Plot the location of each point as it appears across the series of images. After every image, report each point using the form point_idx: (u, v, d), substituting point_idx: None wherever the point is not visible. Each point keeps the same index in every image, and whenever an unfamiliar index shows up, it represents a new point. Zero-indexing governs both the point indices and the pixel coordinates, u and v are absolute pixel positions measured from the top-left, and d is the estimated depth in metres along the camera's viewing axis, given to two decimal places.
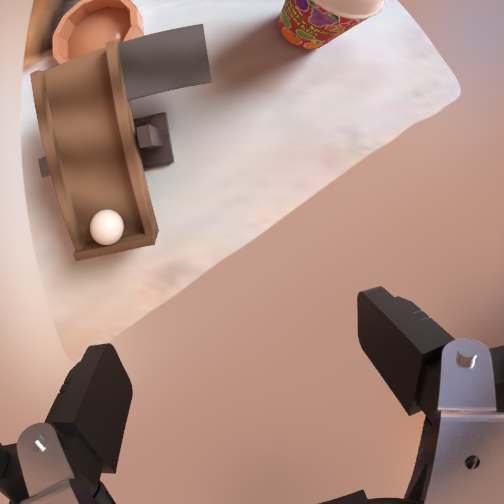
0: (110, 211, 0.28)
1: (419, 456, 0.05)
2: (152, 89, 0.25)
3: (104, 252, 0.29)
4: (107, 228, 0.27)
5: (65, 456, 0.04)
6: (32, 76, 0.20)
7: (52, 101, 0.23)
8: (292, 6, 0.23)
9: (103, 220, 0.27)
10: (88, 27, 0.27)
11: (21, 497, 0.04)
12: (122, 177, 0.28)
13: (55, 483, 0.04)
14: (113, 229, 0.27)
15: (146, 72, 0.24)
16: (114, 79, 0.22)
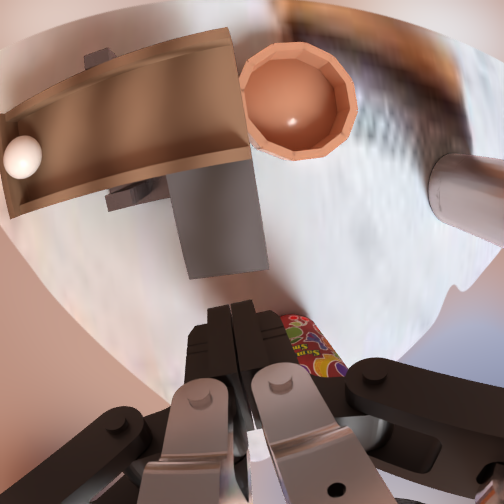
0: (36, 162, 0.19)
1: (281, 485, 0.05)
2: (178, 208, 0.21)
3: None
4: (14, 166, 0.17)
5: (227, 427, 0.05)
6: (221, 30, 0.16)
7: (181, 61, 0.18)
8: (297, 355, 0.26)
9: (22, 159, 0.17)
10: (310, 86, 0.27)
11: None
12: (75, 170, 0.21)
13: (200, 454, 0.04)
14: (15, 172, 0.18)
15: (202, 199, 0.21)
16: (188, 163, 0.19)
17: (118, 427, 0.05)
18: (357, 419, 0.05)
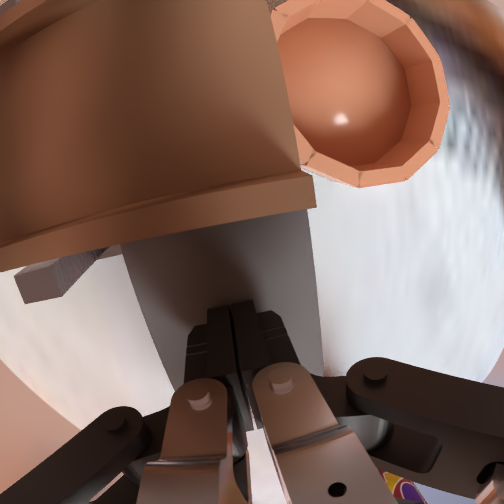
0: None
1: (282, 485, 0.05)
2: (150, 302, 0.10)
3: None
4: None
5: (227, 427, 0.05)
6: None
7: None
8: None
9: None
10: (372, 63, 0.15)
11: None
12: None
13: (200, 454, 0.04)
14: None
15: (197, 287, 0.10)
16: (161, 218, 0.08)
17: (117, 427, 0.05)
18: (358, 418, 0.05)
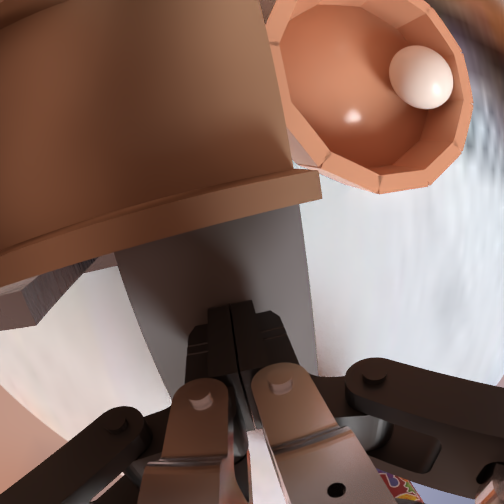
0: (398, 93, 0.13)
1: (281, 486, 0.05)
2: (148, 312, 0.09)
3: None
4: None
5: (227, 427, 0.05)
6: None
7: None
8: None
9: None
10: (388, 55, 0.13)
11: None
12: None
13: (200, 453, 0.04)
14: None
15: (198, 289, 0.10)
16: (180, 215, 0.07)
17: (118, 427, 0.05)
18: (357, 419, 0.05)
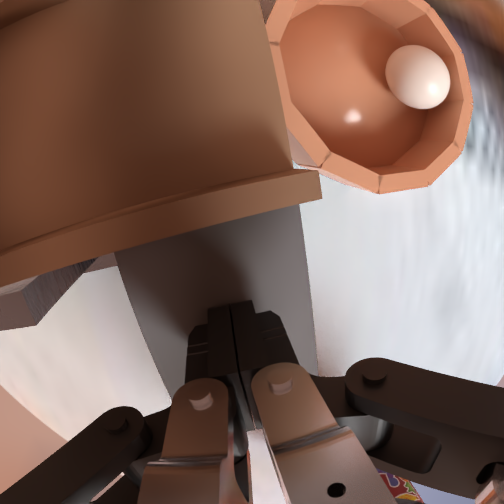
0: (394, 93, 0.13)
1: (281, 486, 0.05)
2: (148, 312, 0.09)
3: None
4: None
5: (227, 427, 0.05)
6: None
7: None
8: None
9: None
10: (388, 55, 0.13)
11: None
12: None
13: (200, 453, 0.04)
14: None
15: (198, 289, 0.10)
16: (180, 215, 0.07)
17: (118, 427, 0.05)
18: (357, 419, 0.05)
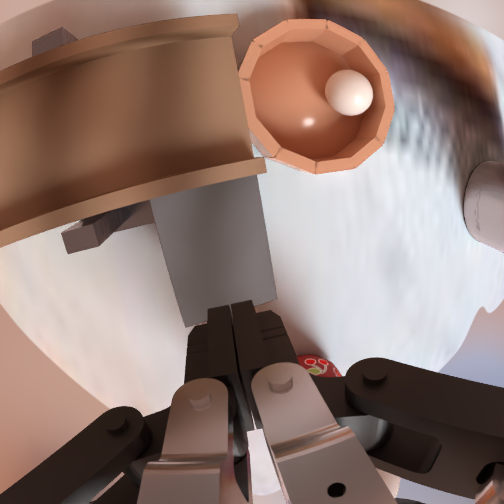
0: (331, 106, 0.20)
1: (281, 485, 0.05)
2: (168, 240, 0.16)
3: None
4: None
5: (227, 427, 0.05)
6: (230, 17, 0.13)
7: (168, 50, 0.14)
8: None
9: None
10: None
11: None
12: (17, 199, 0.13)
13: (200, 453, 0.04)
14: None
15: (198, 226, 0.17)
16: (191, 179, 0.14)
17: (118, 427, 0.05)
18: (357, 419, 0.05)
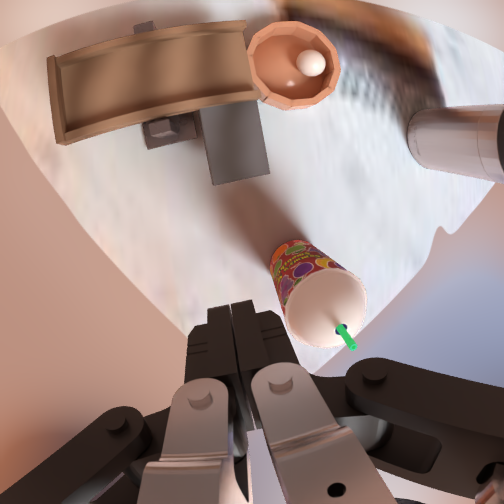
0: (300, 71, 0.33)
1: (281, 485, 0.05)
2: (208, 132, 0.29)
3: (51, 89, 0.21)
4: None
5: (227, 427, 0.05)
6: (242, 21, 0.25)
7: (210, 38, 0.26)
8: (301, 258, 0.32)
9: None
10: None
11: None
12: (122, 106, 0.26)
13: (200, 454, 0.04)
14: None
15: (225, 126, 0.29)
16: (223, 97, 0.27)
17: (118, 427, 0.05)
18: (357, 419, 0.05)
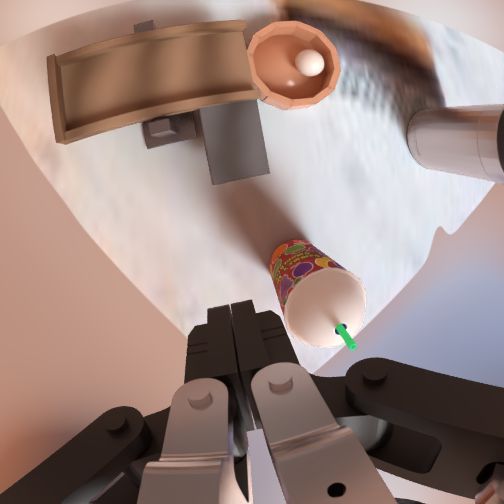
0: (300, 71, 0.33)
1: (281, 485, 0.05)
2: (208, 131, 0.29)
3: (51, 88, 0.21)
4: None
5: (227, 427, 0.05)
6: (242, 21, 0.25)
7: (210, 37, 0.26)
8: (301, 258, 0.32)
9: None
10: None
11: None
12: (122, 105, 0.26)
13: (200, 453, 0.04)
14: None
15: (224, 125, 0.29)
16: (223, 97, 0.27)
17: (118, 427, 0.05)
18: (357, 419, 0.05)
